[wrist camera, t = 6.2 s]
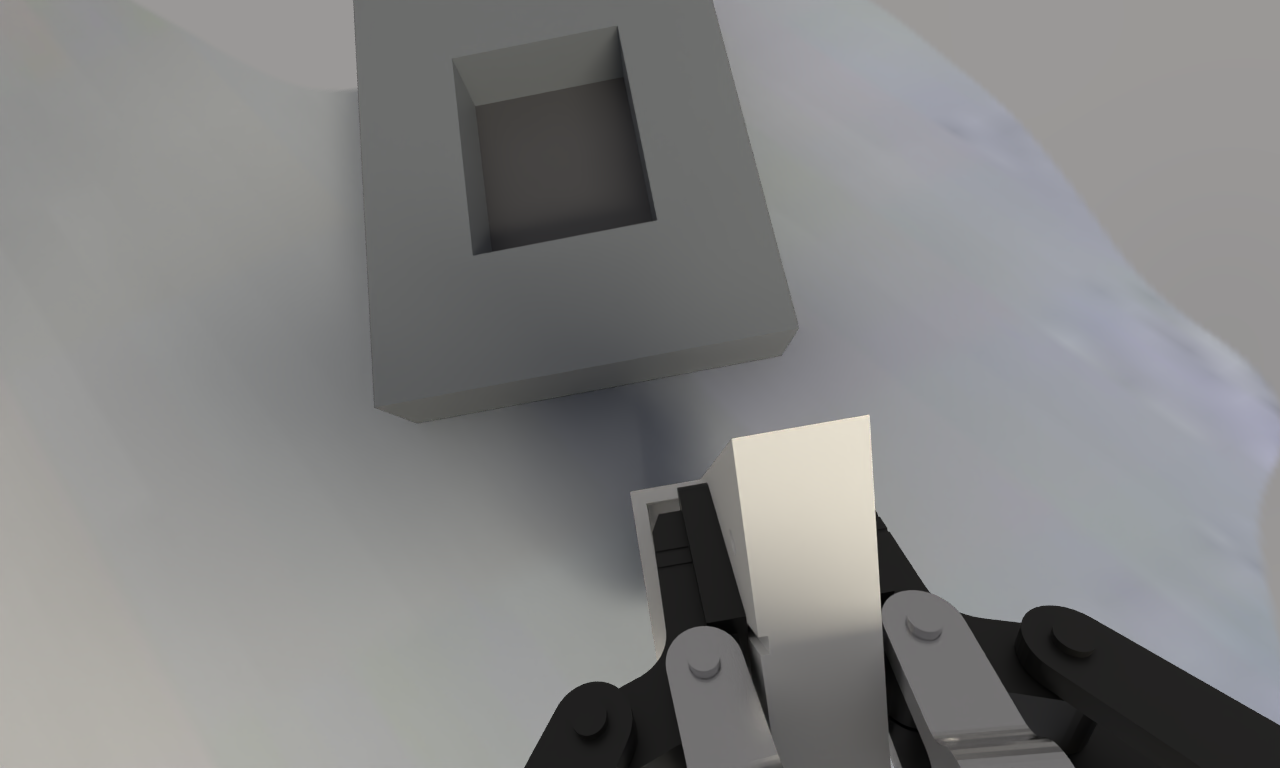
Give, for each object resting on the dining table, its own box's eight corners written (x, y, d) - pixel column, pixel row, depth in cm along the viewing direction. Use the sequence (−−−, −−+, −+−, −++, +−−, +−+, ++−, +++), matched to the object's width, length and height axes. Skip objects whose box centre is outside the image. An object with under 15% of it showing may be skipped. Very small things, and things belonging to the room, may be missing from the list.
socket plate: (416, 423, 21) (374, 407, 18) (389, 45, 25) (352, -18, 22) (781, 355, 20) (799, 328, 17) (688, -15, 25) (689, -86, 22)
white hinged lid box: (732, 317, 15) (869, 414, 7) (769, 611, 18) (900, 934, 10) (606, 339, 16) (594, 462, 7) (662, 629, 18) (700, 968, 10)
